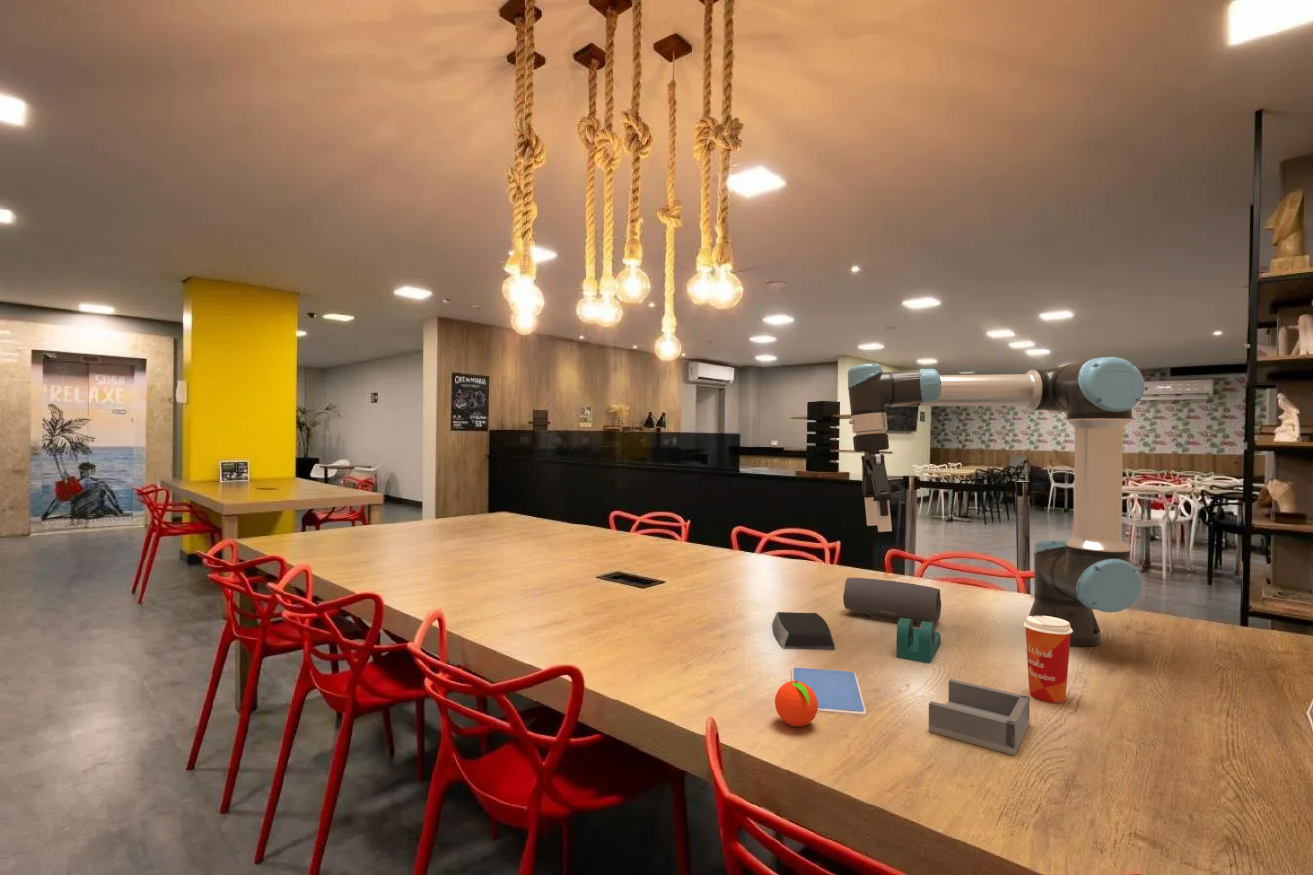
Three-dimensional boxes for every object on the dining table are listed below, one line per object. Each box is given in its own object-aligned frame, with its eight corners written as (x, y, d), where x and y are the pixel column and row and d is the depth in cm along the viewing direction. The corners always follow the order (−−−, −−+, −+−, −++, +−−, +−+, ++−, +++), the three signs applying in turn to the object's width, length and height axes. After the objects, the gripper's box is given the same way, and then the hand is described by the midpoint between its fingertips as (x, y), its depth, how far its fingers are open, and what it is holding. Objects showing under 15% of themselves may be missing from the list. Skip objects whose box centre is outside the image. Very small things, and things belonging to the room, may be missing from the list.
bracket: (930, 664, 133) (930, 627, 133) (896, 658, 136) (896, 621, 136) (942, 641, 148) (942, 607, 148) (911, 636, 152) (912, 603, 152)
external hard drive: (779, 650, 142) (779, 632, 142) (769, 625, 161) (769, 609, 161) (838, 652, 141) (838, 634, 141) (821, 626, 160) (821, 610, 160)
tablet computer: (867, 720, 107) (867, 712, 107) (791, 713, 110) (791, 705, 110) (855, 677, 126) (855, 671, 126) (791, 672, 129) (791, 666, 129)
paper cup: (1013, 688, 120) (1014, 614, 120) (1052, 687, 120) (1052, 614, 120) (1042, 706, 112) (1043, 627, 112) (1083, 705, 113) (1083, 626, 113)
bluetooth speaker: (941, 622, 163) (941, 583, 163) (935, 631, 155) (935, 590, 155) (852, 608, 175) (852, 572, 175) (842, 616, 168) (842, 578, 168)
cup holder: (1029, 723, 105) (1029, 696, 105) (1014, 755, 95) (1014, 725, 95) (950, 704, 113) (950, 678, 113) (928, 731, 102) (928, 703, 102)
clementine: (829, 734, 101) (830, 689, 101) (790, 740, 99) (790, 694, 99) (804, 713, 109) (804, 671, 109) (767, 717, 107) (767, 675, 107)
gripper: (845, 437, 156) (853, 524, 155) (861, 432, 131) (871, 535, 130) (876, 434, 155) (885, 522, 154) (899, 428, 130) (909, 533, 129)
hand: (878, 528), depth 142 cm, fingers open, 13 cm apart
